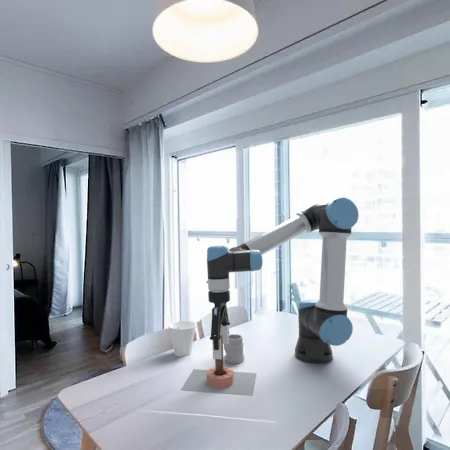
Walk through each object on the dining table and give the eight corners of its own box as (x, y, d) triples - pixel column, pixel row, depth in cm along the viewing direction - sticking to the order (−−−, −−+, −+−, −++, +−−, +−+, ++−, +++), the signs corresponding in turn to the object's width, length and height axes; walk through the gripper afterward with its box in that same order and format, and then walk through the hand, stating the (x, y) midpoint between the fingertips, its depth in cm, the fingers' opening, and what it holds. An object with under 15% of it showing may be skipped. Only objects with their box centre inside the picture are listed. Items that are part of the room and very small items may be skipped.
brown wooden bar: (224, 379, 115) (223, 334, 115) (222, 383, 112) (222, 337, 112) (216, 379, 115) (215, 334, 115) (214, 382, 112) (214, 336, 112)
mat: (256, 374, 119) (256, 373, 119) (252, 396, 103) (252, 395, 103) (193, 370, 123) (193, 369, 123) (180, 391, 108) (180, 390, 108)
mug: (232, 366, 126) (231, 335, 126) (216, 356, 136) (216, 327, 136) (248, 362, 130) (247, 332, 130) (232, 352, 140) (231, 324, 140)
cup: (178, 361, 131) (178, 331, 132) (163, 353, 140) (163, 324, 140) (202, 353, 139) (201, 324, 139) (186, 346, 148) (186, 319, 148)
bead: (235, 376, 117) (234, 367, 117) (231, 388, 108) (230, 379, 108) (210, 374, 119) (210, 366, 119) (204, 386, 110) (204, 377, 110)
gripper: (215, 283, 127) (217, 337, 127) (199, 298, 102) (202, 365, 102) (234, 283, 125) (236, 338, 125) (222, 298, 101) (225, 366, 101)
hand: (221, 350), depth 114 cm, fingers open, 13 cm apart
